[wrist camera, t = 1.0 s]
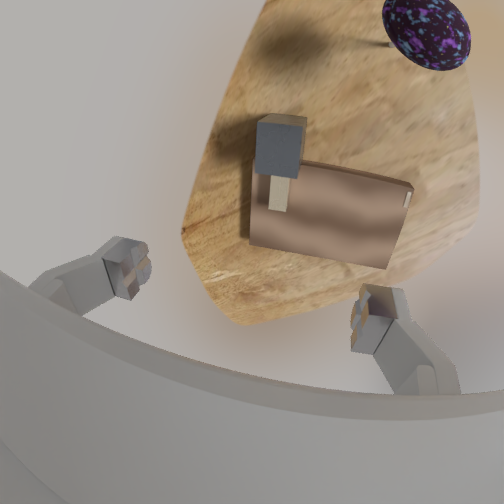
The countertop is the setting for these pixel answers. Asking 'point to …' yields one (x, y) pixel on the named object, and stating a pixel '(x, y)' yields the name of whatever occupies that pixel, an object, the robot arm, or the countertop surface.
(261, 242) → the board
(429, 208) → the countertop surface
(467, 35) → the lollipop
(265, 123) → the upright grey metal block
